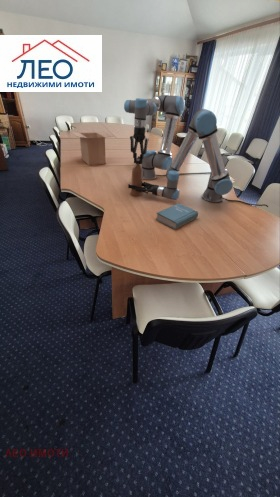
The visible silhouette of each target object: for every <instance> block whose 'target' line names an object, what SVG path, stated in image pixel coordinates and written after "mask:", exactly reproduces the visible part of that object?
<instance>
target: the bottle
mask: <svg viewBox="0 0 280 497" xmlns="http://www.w3.org/2000/svg"><path fill="white" fill-rule="evenodd" d="M143 180H144V179H143V168H142V165H141V164H136V163H135V165H134V166H133V167H132V169H131V183H130V185H134V186H137V187H142V182H143ZM142 193H143V192H137V191H135V189H130V195H131V196H134V197H140V196H142Z"/></svg>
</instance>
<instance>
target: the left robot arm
mask: <svg viewBox="0 0 280 497" xmlns="http://www.w3.org/2000/svg"><path fill="white" fill-rule="evenodd" d="M123 109H124V111H125V113H128V114H134V123H133V126H134V127H133V135H130V136H129V140H130V153H132V158H133V164H136V163H135V160H136V159H137V157H138V153H137V148H138V144H139V147H140V148H139V149H140V154H139V157H140V163H139V164H140V165H141V167H142V168H143V179H142V180H146V181H154V180H156V178H157V177H167V175H166V174H163V175H161V174H156V169H160V170H162V171H167V170H168V169H169V168H170V166H171V164H172V162H173V160H174V158H173V156H172V153H171V149H172V145H173V141H174V136H175V131H176V126H177V121H178V119H180V116H181V115H183V114H184V112H185V99H184V98H183V97H182V96H179V95H171V94H170V95H169V94H162V95H157V96H153V97H151V98H135V99H133V100H132V99H126V100H125V101H124V104H123ZM157 112H160V113H165V114H164V115H165V117H166V119H165V123H164V129H163V134H162V138H161V144H160V148H159V150H153V149H151V150H150V149H149V150H148V143H149V140H150V139H149V138H148V137H146V126H147V117H148V116H150V117H151V116H153V115H155V114H156V113H157ZM210 172H211V171H210ZM210 172H209V171H208V172H207V174H210ZM201 174H205V172H187V173H179V176H180V175H181V176H182V175H201Z"/></svg>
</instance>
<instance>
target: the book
mask: <svg viewBox="0 0 280 497" xmlns="http://www.w3.org/2000/svg"><path fill="white" fill-rule="evenodd" d="M198 217H199V211H198V210H196V209H193V208H191V207H189V206H186V205H184V204H181V203H176V204H173V205H172V206H171V205H170V206H169V207H167V208H164V209H162V210H160V211H158V212H156V219H155V221H158V222H160V223H162V224H163V225H165V226H167V227H169V228H171V229H173V230H176V229H179V228H181V227H183V226H184V225H187V224H188V223H190V222H192V221H193V220H195V219H197V218H198Z"/></svg>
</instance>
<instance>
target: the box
mask: <svg viewBox="0 0 280 497" xmlns="http://www.w3.org/2000/svg"><path fill="white" fill-rule="evenodd" d="M70 133H71V134H72V135H74V136H75V137H77V138H79V144H80V153H81V160H83V162H85V163H86V165H87V166H95V165H97V166H98V165H106V163H107V162H106V158H107V157H106V138H113V137H114V136H113V135H111V134H109V133H108V132H105V131H98V132H96V131H95V130H92V129H91V130H77V132H76V131H70Z"/></svg>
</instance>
